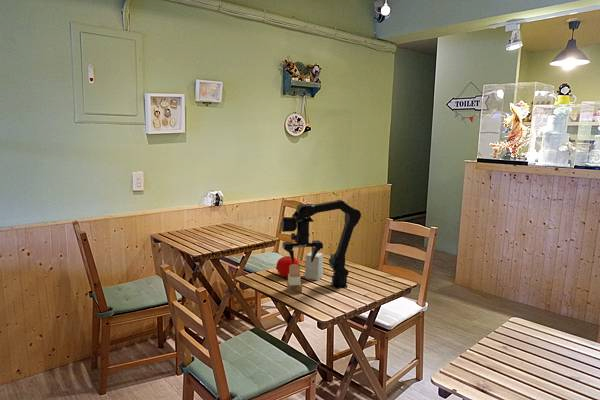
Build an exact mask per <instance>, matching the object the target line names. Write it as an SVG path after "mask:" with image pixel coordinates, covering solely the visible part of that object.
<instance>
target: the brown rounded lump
mask: <svg viewBox="0 0 600 400" xmlns="http://www.w3.org/2000/svg"><path fill="white" fill-rule="evenodd" d="M289 276H291V277H299V276H300V277H301V265H300V264H299V265H295V264H293V265H290V266H289Z"/></svg>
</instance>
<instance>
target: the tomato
mask: <svg viewBox="0 0 600 400" xmlns="http://www.w3.org/2000/svg"><path fill="white" fill-rule="evenodd" d="M293 264H295V265H300V262H299V260H298V258H296V257H294V263H292V260H291V257H290V255H289V256H287V255H285V256H283V257H280V258H279V259H278V260H277V263H276V266H275V268H276V271H277V273H278V274H280V275H281V276H283V277H285V278H288V274H289V266H290V265H293Z"/></svg>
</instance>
